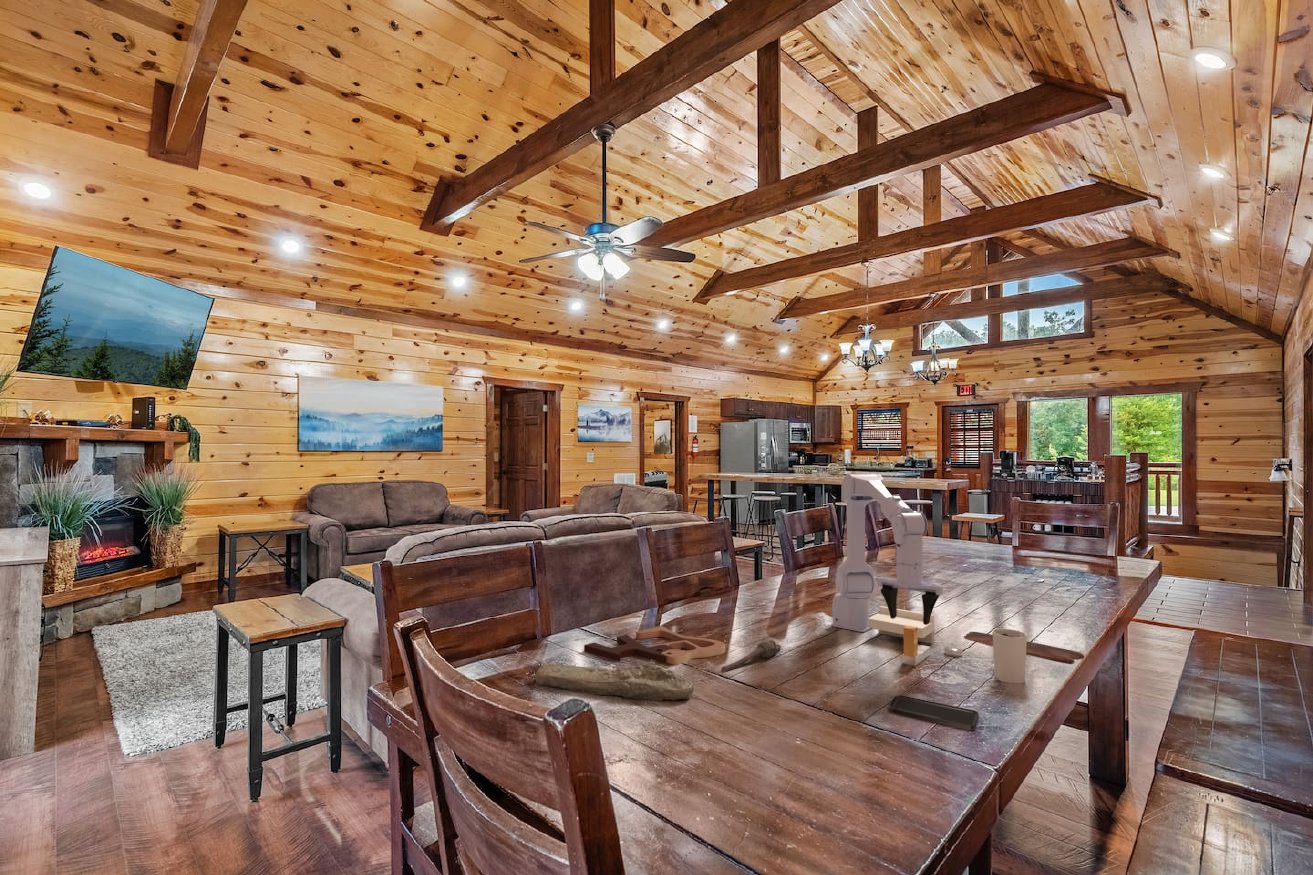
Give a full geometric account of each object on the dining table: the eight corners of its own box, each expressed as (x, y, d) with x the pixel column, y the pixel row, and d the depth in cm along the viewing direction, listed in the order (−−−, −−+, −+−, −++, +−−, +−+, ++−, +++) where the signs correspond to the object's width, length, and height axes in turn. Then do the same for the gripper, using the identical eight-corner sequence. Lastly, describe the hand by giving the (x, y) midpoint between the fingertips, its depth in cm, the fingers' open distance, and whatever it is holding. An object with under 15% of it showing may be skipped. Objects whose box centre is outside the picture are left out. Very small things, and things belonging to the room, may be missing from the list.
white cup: (988, 678, 135) (988, 633, 136) (997, 670, 140) (996, 626, 140) (1023, 686, 131) (1023, 639, 131) (1030, 678, 136) (1030, 632, 136)
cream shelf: (868, 638, 164) (868, 612, 164) (881, 631, 171) (881, 605, 171) (922, 650, 155) (922, 622, 155) (934, 641, 161) (934, 615, 161)
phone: (896, 694, 125) (979, 711, 117) (896, 699, 125) (979, 717, 117) (887, 707, 118) (974, 727, 110) (887, 713, 118) (974, 733, 110)
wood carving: (583, 653, 153) (645, 680, 135) (583, 644, 153) (645, 670, 135) (667, 631, 172) (730, 652, 154) (667, 623, 172) (730, 644, 154)
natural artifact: (785, 656, 154) (793, 645, 152) (723, 674, 139) (731, 662, 138) (775, 644, 157) (783, 633, 155) (713, 660, 142) (721, 648, 140)
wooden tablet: (957, 634, 165) (974, 623, 171) (958, 642, 165) (974, 631, 171) (1071, 661, 144) (1085, 647, 151) (1072, 670, 145) (1086, 656, 151)
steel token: (942, 655, 152) (942, 649, 152) (946, 651, 155) (946, 645, 155) (960, 658, 149) (960, 652, 149) (964, 654, 152) (964, 648, 152)
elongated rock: (548, 678, 139) (527, 697, 130) (546, 655, 139) (525, 672, 130) (699, 686, 130) (688, 708, 120) (697, 661, 130) (686, 681, 120)
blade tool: (902, 663, 145) (902, 627, 146) (917, 652, 153) (917, 618, 154) (915, 666, 143) (915, 629, 144) (930, 655, 151) (930, 620, 152)
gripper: (872, 561, 148) (872, 618, 148) (936, 569, 138) (936, 630, 138) (884, 557, 153) (884, 612, 153) (945, 565, 144) (946, 623, 143)
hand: (909, 620), depth 146 cm, fingers open, 7 cm apart
